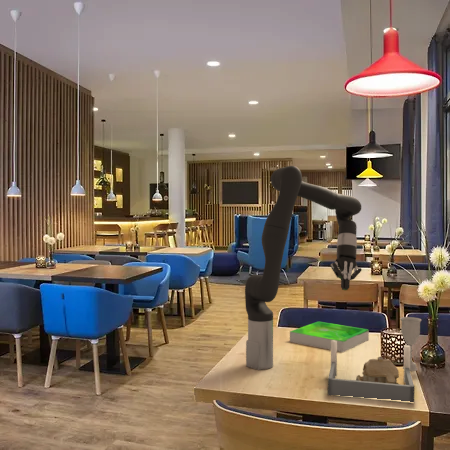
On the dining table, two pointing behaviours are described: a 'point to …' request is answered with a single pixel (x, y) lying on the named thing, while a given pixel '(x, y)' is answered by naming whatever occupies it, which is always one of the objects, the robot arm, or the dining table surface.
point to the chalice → (410, 335)
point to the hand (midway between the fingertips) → (345, 289)
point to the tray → (329, 336)
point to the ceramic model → (379, 371)
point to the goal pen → (371, 388)
